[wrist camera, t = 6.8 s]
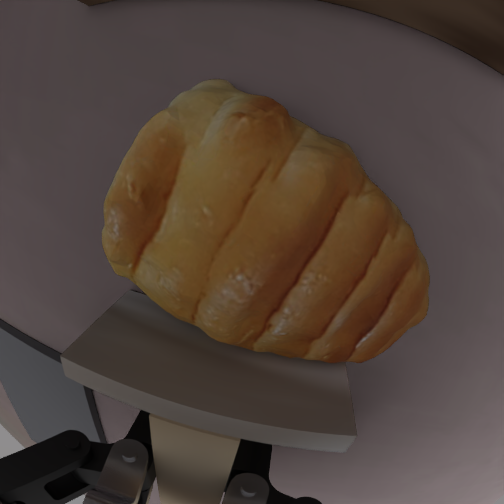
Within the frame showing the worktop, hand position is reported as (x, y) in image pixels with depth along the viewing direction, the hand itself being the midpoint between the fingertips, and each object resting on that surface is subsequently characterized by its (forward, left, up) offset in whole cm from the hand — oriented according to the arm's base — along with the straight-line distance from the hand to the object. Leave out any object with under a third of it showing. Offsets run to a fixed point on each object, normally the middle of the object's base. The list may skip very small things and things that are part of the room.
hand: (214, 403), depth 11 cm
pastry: (+1, +8, -1) cm, 8 cm away
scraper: (0, -2, 0) cm, 2 cm away
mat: (-12, -9, -1) cm, 15 cm away
